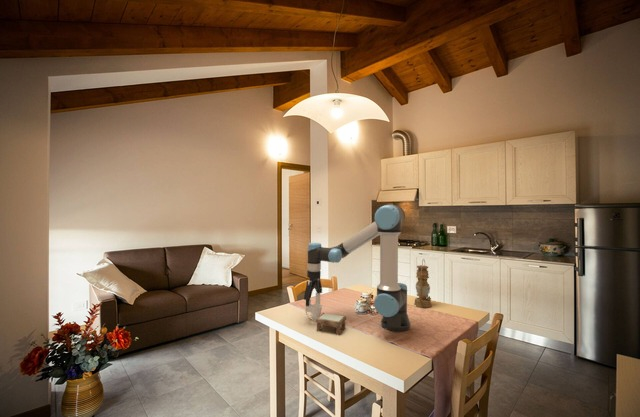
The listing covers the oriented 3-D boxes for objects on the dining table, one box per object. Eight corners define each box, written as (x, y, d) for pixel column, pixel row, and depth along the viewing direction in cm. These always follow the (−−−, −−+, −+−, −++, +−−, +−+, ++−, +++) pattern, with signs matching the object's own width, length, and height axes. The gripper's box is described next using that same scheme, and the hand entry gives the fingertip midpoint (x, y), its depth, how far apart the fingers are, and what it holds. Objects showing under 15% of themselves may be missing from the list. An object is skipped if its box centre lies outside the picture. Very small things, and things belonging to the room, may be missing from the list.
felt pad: (343, 316, 158) (343, 316, 158) (338, 322, 151) (338, 321, 151) (324, 313, 162) (324, 313, 162) (318, 318, 155) (318, 318, 155)
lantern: (432, 310, 187) (432, 261, 187) (414, 308, 190) (415, 260, 190) (430, 302, 202) (430, 257, 202) (413, 301, 205) (414, 257, 205)
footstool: (346, 327, 159) (346, 316, 159) (340, 335, 149) (340, 323, 149) (323, 324, 164) (323, 312, 164) (315, 330, 154) (316, 319, 154)
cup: (319, 323, 165) (319, 308, 165) (302, 320, 169) (303, 305, 169) (324, 318, 171) (324, 304, 171) (308, 316, 176) (308, 302, 176)
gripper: (316, 265, 183) (315, 300, 183) (298, 274, 160) (297, 313, 160) (328, 267, 180) (327, 302, 180) (310, 275, 157) (309, 316, 157)
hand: (313, 307), depth 170 cm, fingers open, 13 cm apart
